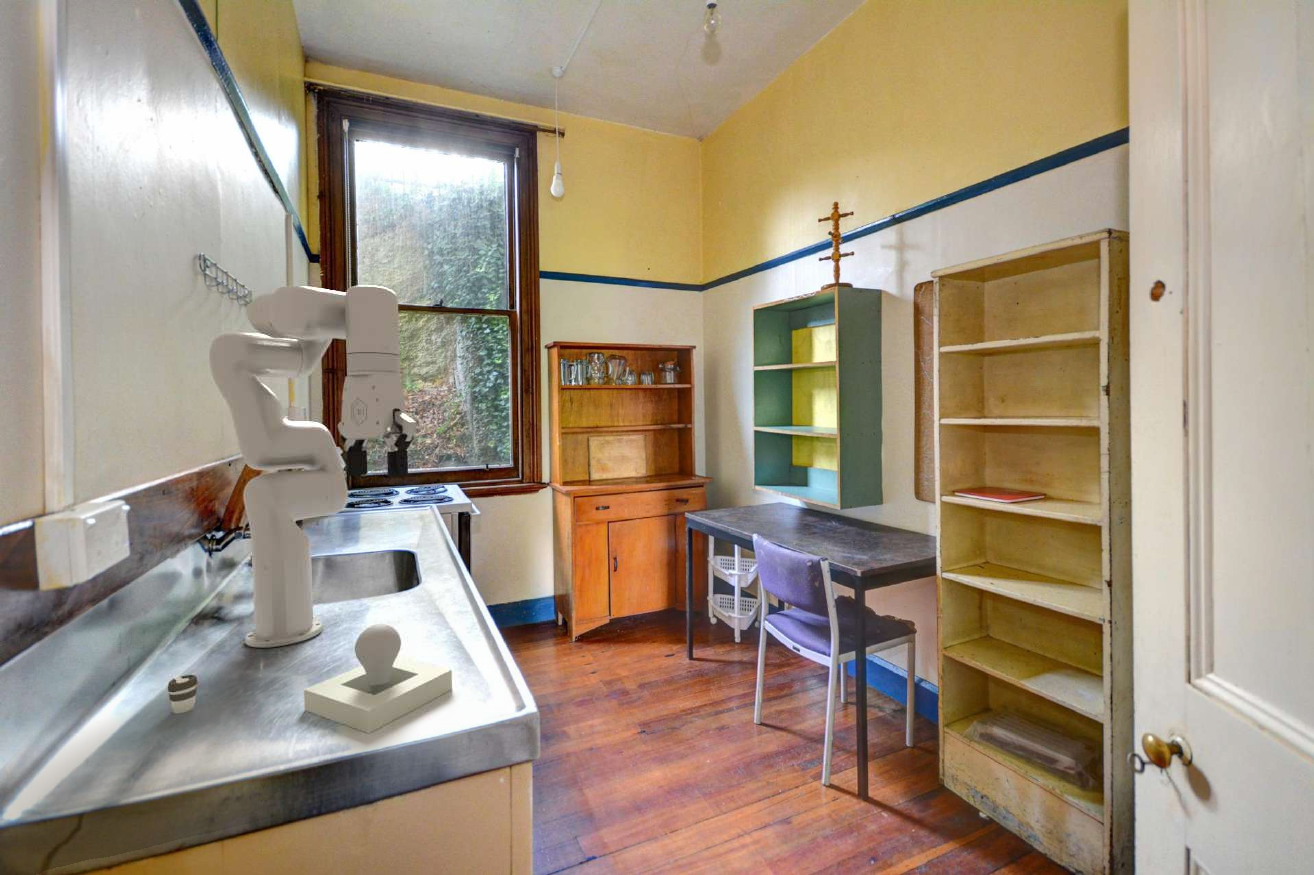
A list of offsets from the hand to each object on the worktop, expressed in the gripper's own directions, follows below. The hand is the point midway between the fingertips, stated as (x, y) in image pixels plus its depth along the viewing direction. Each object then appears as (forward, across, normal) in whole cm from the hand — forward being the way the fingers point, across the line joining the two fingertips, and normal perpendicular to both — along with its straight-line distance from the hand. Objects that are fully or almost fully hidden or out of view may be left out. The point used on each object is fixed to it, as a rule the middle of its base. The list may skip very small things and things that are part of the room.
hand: (377, 476), depth 93 cm
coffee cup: (+33, -18, -20) cm, 42 cm away
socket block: (+32, +6, -5) cm, 33 cm away
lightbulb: (+32, +6, -5) cm, 33 cm away
